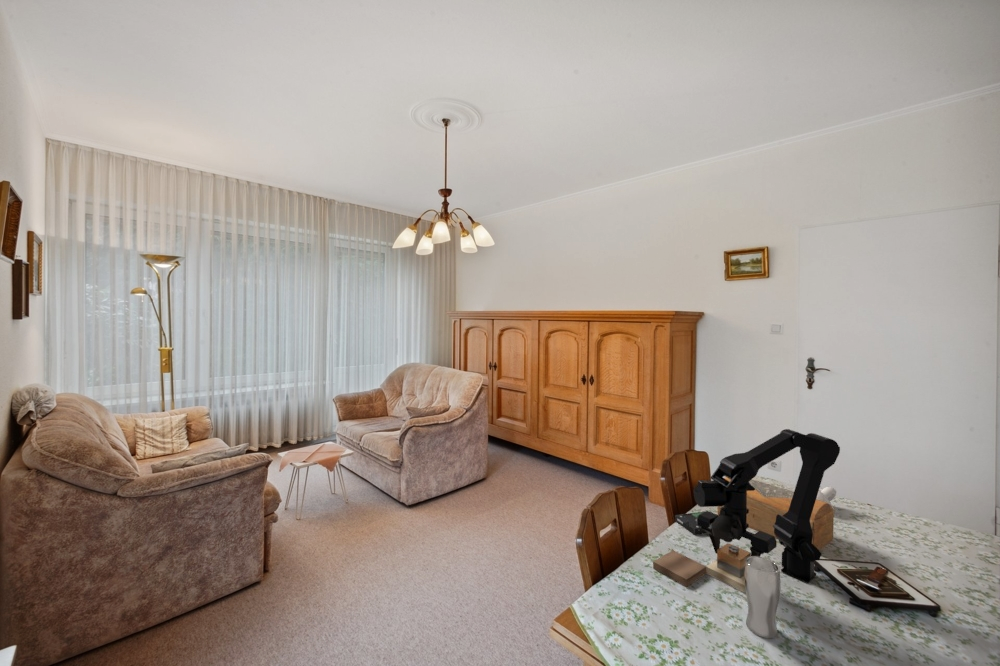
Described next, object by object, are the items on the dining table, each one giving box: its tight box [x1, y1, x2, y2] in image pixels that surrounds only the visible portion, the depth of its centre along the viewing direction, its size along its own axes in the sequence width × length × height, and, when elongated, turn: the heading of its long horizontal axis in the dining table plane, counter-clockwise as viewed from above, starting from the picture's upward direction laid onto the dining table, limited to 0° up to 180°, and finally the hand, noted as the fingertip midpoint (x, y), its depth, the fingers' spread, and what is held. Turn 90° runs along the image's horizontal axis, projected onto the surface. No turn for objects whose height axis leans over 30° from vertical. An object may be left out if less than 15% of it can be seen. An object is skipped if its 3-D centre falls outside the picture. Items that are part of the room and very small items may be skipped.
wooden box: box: [716, 476, 835, 551], centre depth 139 cm, size 30×16×14 cm, turn 31°
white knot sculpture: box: [816, 486, 837, 510], centre depth 153 cm, size 11×12×9 cm
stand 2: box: [705, 559, 746, 594], centre depth 112 cm, size 10×10×2 cm
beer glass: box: [744, 556, 782, 640], centre depth 92 cm, size 7×7×15 cm
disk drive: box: [674, 510, 712, 536], centre depth 140 cm, size 10×3×15 cm
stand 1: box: [652, 549, 707, 588], centre depth 114 cm, size 10×10×2 cm
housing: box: [716, 542, 751, 578], centre depth 112 cm, size 6×6×6 cm
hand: (734, 560), depth 112 cm, fingers open, 9 cm apart
